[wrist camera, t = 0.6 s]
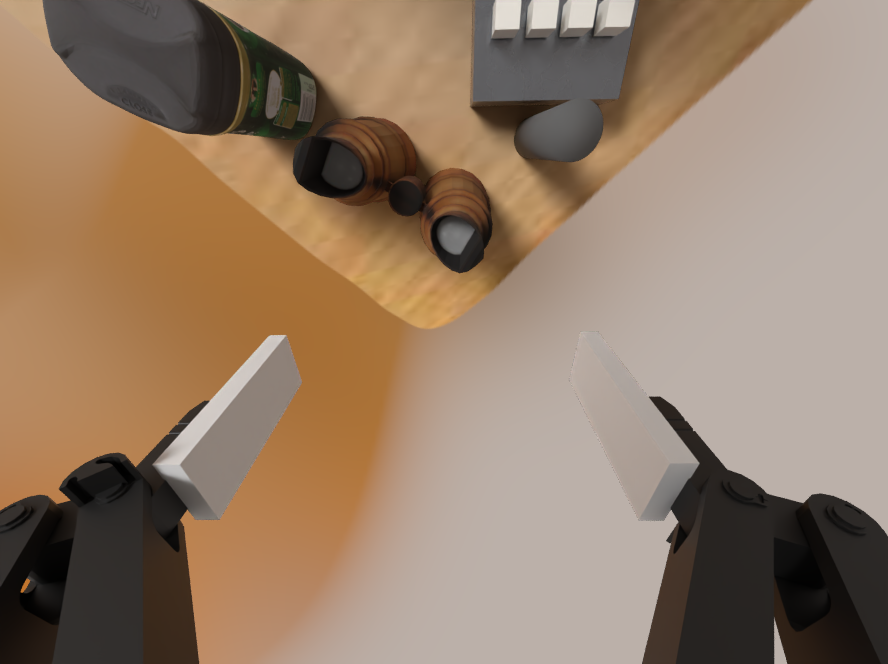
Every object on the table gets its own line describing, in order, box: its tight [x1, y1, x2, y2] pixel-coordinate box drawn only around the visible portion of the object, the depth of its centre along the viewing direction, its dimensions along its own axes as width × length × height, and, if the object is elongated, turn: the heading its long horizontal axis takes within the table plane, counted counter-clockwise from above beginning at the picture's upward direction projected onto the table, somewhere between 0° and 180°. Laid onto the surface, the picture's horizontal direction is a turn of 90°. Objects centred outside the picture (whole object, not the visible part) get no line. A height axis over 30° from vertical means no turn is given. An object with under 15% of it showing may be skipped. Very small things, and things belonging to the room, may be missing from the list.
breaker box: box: [470, 0, 639, 107], centre depth 30 cm, size 11×14×4 cm
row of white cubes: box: [491, 0, 635, 39], centre depth 27 cm, size 2×11×2 cm, turn 91°
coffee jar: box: [43, 0, 316, 140], centre depth 26 cm, size 10×8×19 cm
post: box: [514, 98, 603, 162], centre depth 29 cm, size 4×4×14 cm
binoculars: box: [293, 117, 493, 273], centre depth 29 cm, size 18×8×20 cm, turn 60°
